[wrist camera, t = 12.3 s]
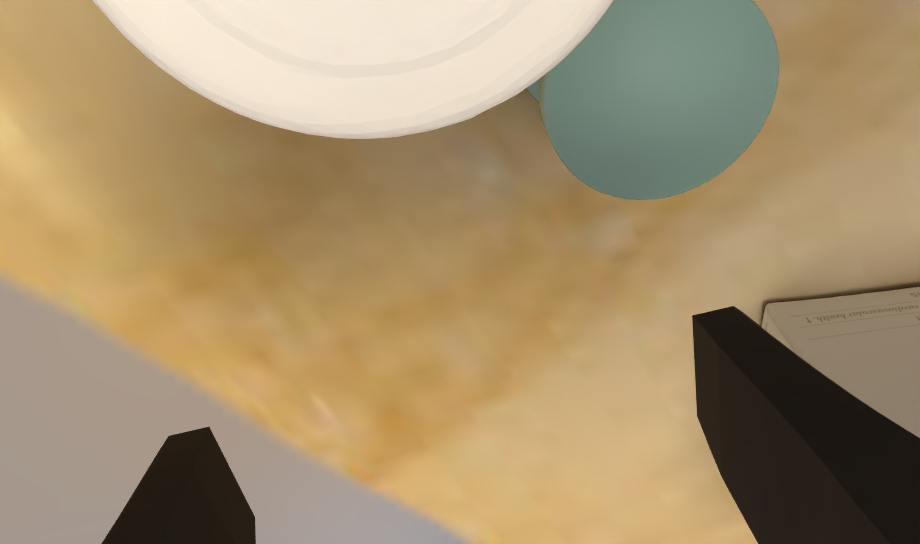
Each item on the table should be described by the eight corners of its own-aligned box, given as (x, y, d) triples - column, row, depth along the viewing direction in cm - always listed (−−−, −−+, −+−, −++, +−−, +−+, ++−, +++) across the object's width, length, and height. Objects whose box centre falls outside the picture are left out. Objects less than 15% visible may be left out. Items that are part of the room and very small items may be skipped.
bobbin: (694, -103, 19) (781, -52, 15) (701, 88, 22) (777, 171, 18) (491, -56, 19) (529, 7, 16) (522, 130, 22) (561, 221, 18)
